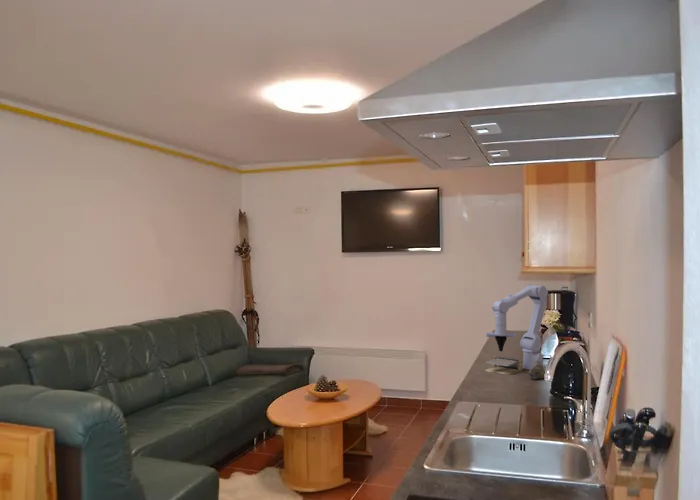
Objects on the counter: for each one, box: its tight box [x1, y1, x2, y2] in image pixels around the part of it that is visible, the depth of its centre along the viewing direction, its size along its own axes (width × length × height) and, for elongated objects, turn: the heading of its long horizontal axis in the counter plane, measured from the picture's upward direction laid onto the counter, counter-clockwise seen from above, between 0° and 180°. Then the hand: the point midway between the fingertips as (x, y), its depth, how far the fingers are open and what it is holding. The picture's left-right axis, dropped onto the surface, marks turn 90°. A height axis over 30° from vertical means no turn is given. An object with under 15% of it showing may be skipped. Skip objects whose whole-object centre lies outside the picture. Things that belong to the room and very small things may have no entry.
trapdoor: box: [485, 355, 523, 369], centre depth 282 cm, size 12×18×4 cm
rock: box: [528, 360, 546, 380], centre depth 263 cm, size 11×6×10 cm
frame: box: [483, 355, 524, 376], centre depth 280 cm, size 16×12×6 cm
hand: (500, 351), depth 279 cm, fingers closed
